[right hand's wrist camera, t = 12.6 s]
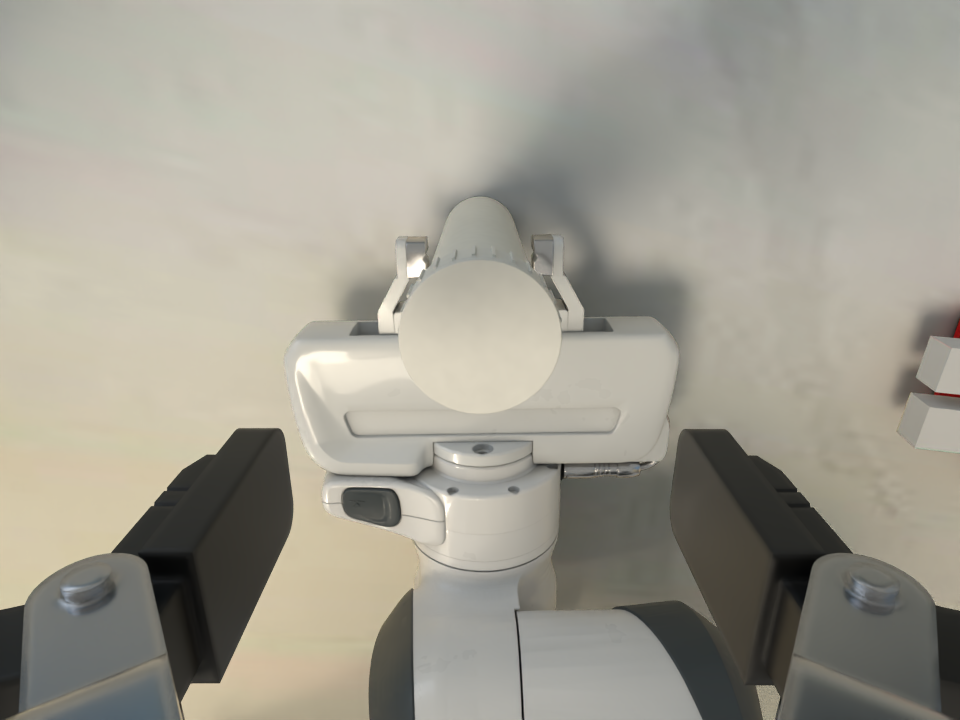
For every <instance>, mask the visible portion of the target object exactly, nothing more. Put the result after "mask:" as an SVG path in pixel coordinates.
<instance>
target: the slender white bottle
mask: <svg viewBox="0 0 960 720" xmlns="http://www.w3.org/2000/svg"><path fill="white" fill-rule="evenodd" d="M473 245H475V246H476V248H491V247H492V246H495V249H497V250H501V251H504V252H507V253H510V251H511V252H514V256H516V257H518V258H520V259H521V260H523V261H524V262H527V261H528V260H527V257H526V255H525V252H524V249H523V246H522V243H521V240H520V237H519V234H518V232H517V229H516V226H515V223H514V220H513V218H512V216H511V214H510V212H509V211H508V210H507V208H506V207H505V206H504V205H502V204H501V203H500V202H498V201H496V200H494V199H492V198H488V197H481V196H480V197H471V198H468V199H466V200H464V201H462V202H460V203H459V204H458V205H456V206H455V207H454V208H453V210H452V211H451V212H450V214H449V216H448V218H447V220H446V223H445V226H444V229H443V232H442V235H441V238H440V240H439V243H438V246H437V249H436V252H435V255H434V258H433V261H432V263H431V265H432V264H433V263H434V262H435V259H436V258H437V257H439V258H442V257H444V256H446V255H448V254H450V253H453V250H454V249H456V250H457V251H459V250H463V249H469V248H472V246H473Z"/></svg>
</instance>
